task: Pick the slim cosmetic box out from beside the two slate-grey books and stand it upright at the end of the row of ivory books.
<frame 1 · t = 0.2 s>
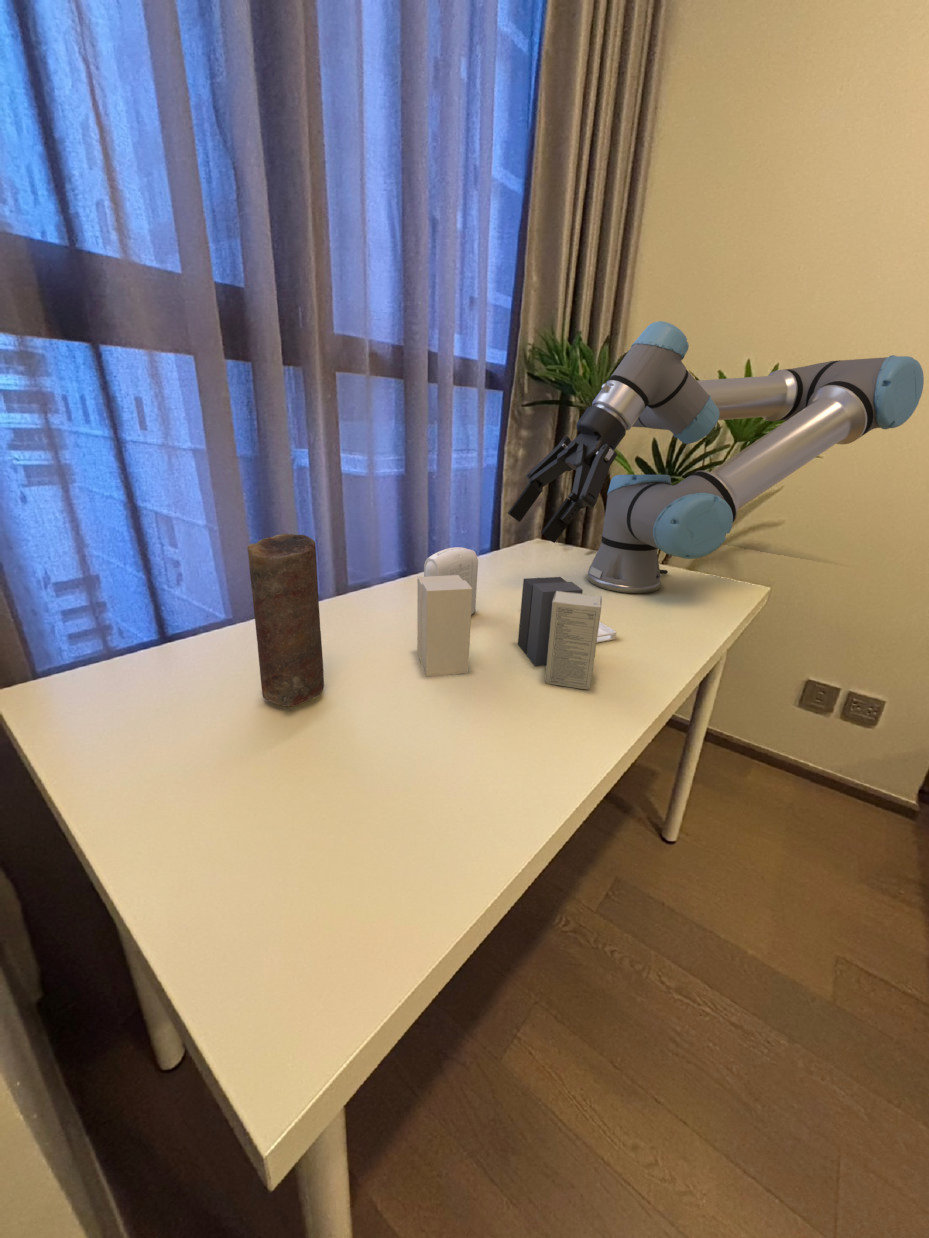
hand: (529, 527, 85), 16 cm above the table, tool tilted 35°, fingers open, 13 cm apart
ivory books: (441, 662, 73), on the table
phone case: (571, 626, 88), on the table
candle: (295, 698, 63), on the table
grey books: (544, 653, 77), on the table
cosmetic box: (567, 681, 70), on the table
photo printer: (449, 618, 89), on the table
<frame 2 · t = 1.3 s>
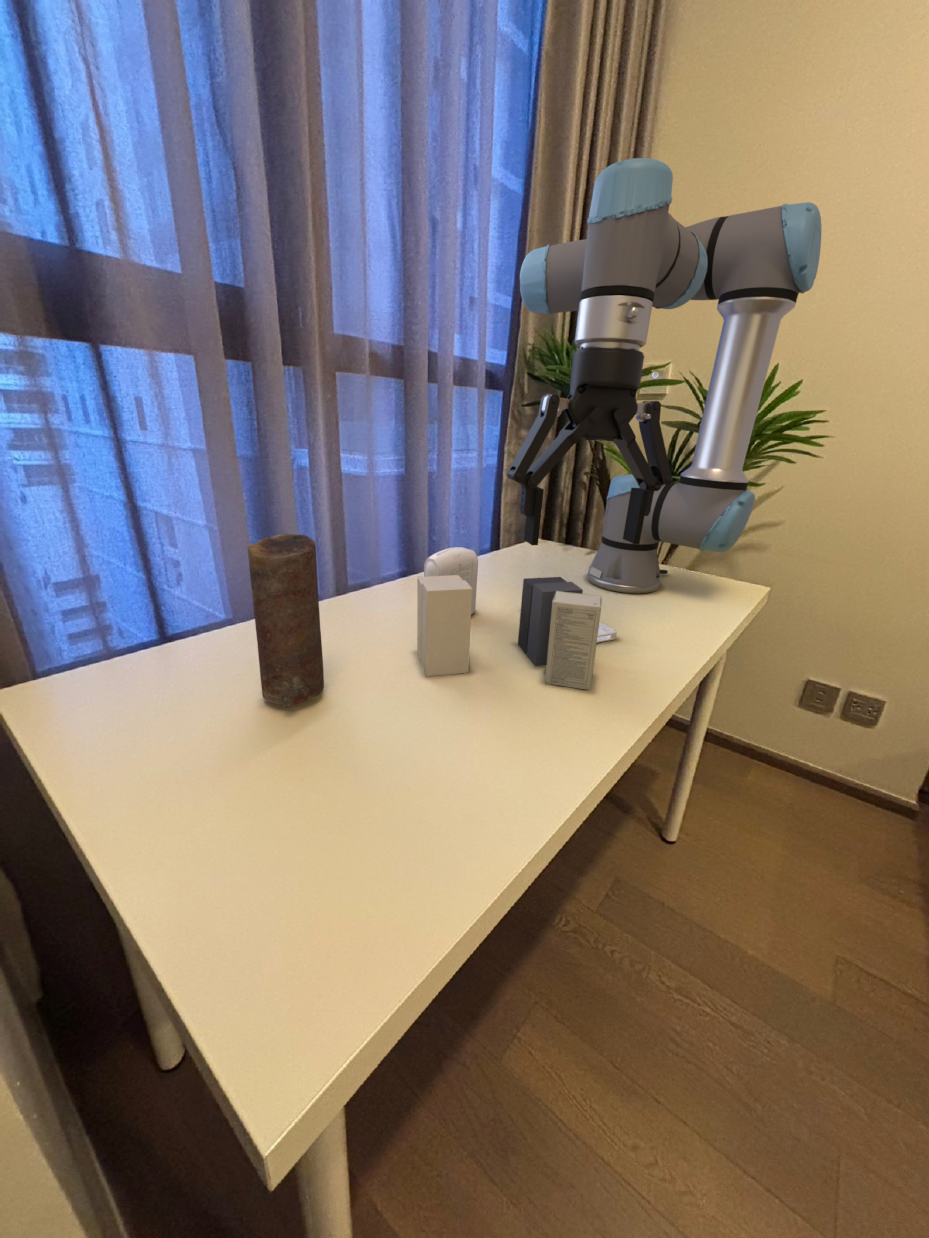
hand: (582, 542, 63), 19 cm above the table, tool pointing down, fingers open, 13 cm apart
nothing on the table moved.
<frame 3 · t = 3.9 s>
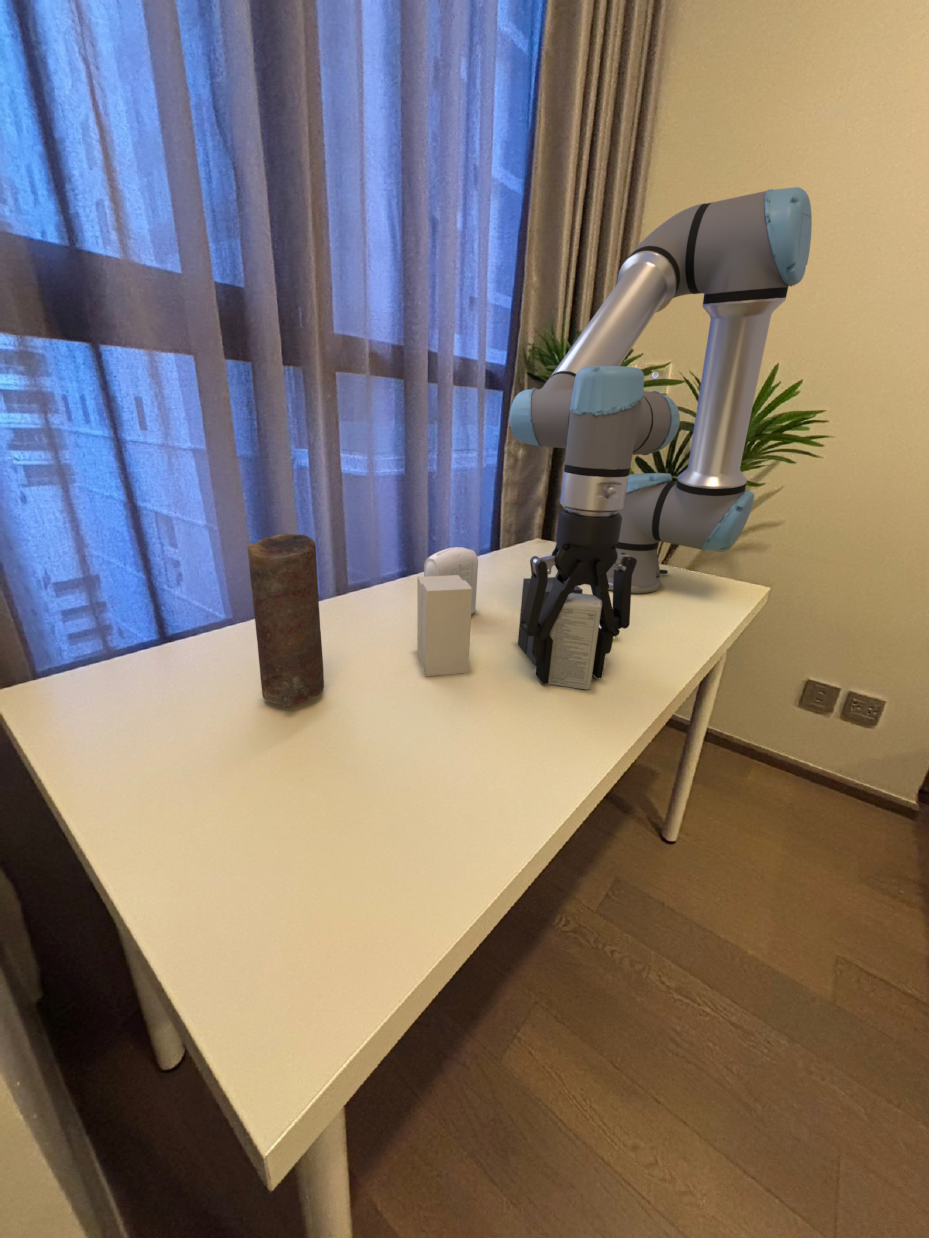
hand: (568, 676, 70), 1 cm above the table, tool pointing down, fingers closed on cosmetic box, 7 cm apart
cosmetic box: (567, 681, 70), on the table, touching gripper
everything else where it was.
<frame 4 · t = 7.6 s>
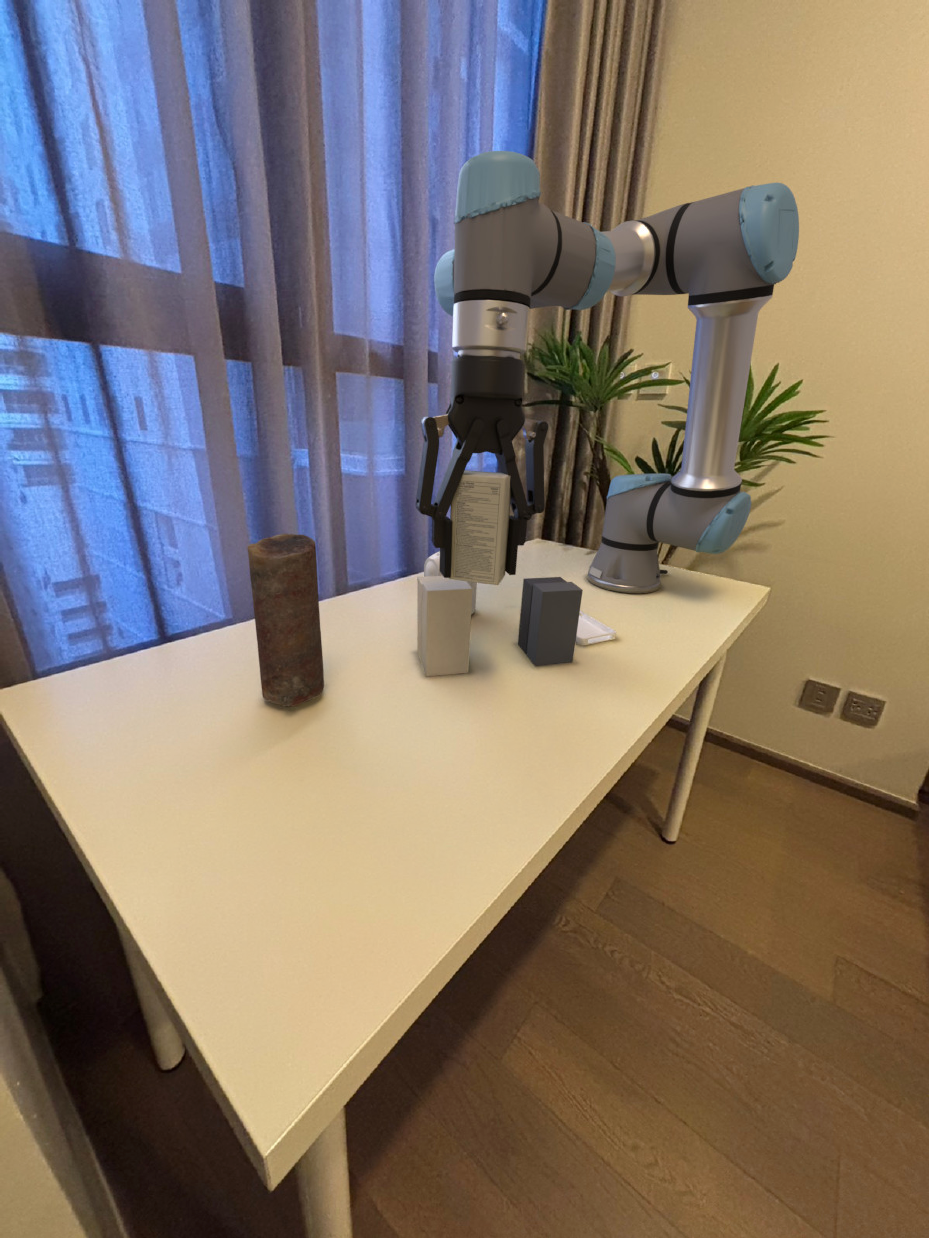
hand: (477, 572, 60), 16 cm above the table, tool pointing down, fingers closed on cosmetic box, 7 cm apart
cosmetic box: (476, 579, 60), point 15 cm above the table, touching gripper
everything else where it was.
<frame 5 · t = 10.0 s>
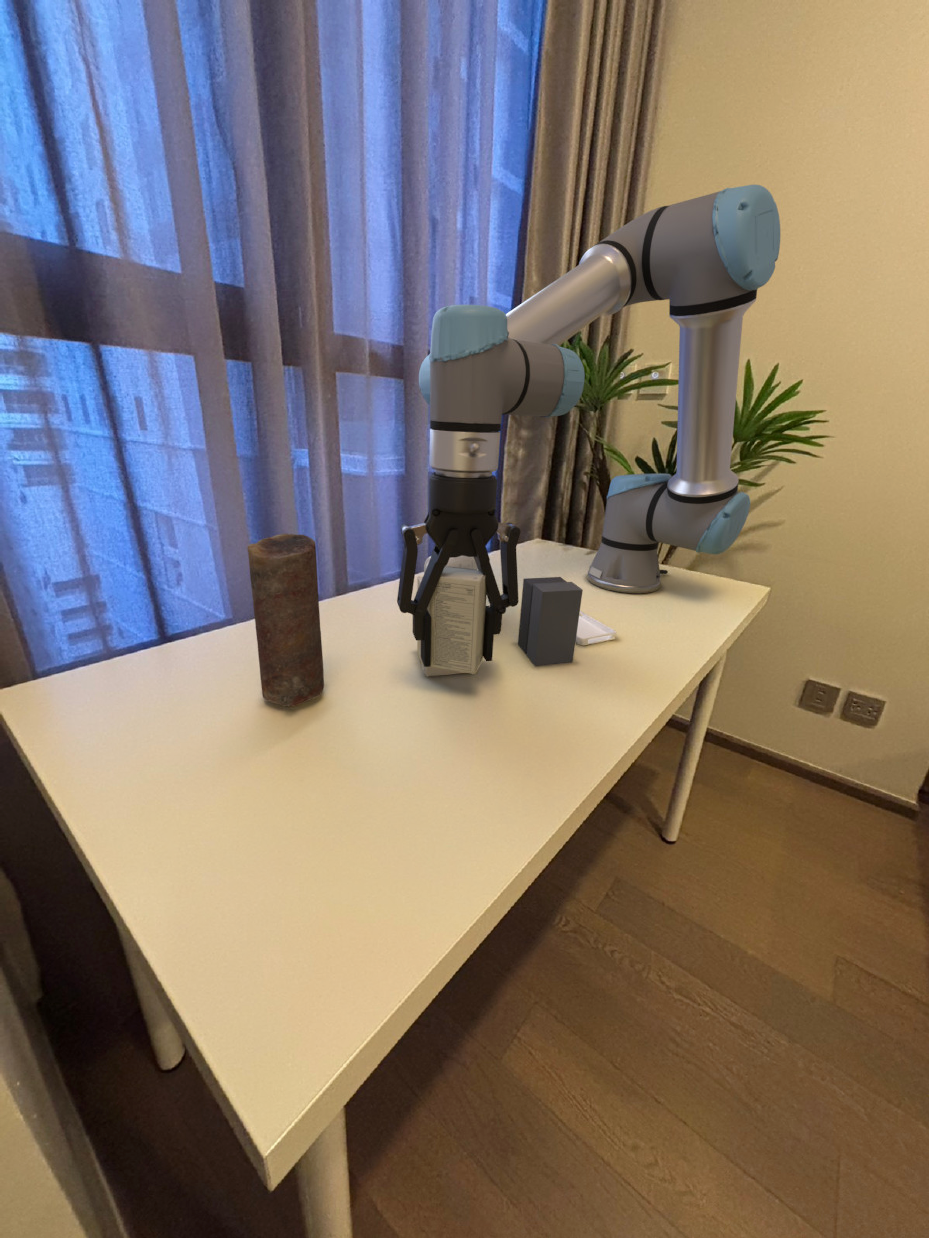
hand: (456, 658, 64), 5 cm above the table, tool pointing down, fingers closed on cosmetic box, 7 cm apart
cosmetic box: (454, 664, 64), point 4 cm above the table, touching gripper
everything else where it was.
when the fingers open (1 cm above the table, at t = 11.5 s): cosmetic box stays where it is, on the table.
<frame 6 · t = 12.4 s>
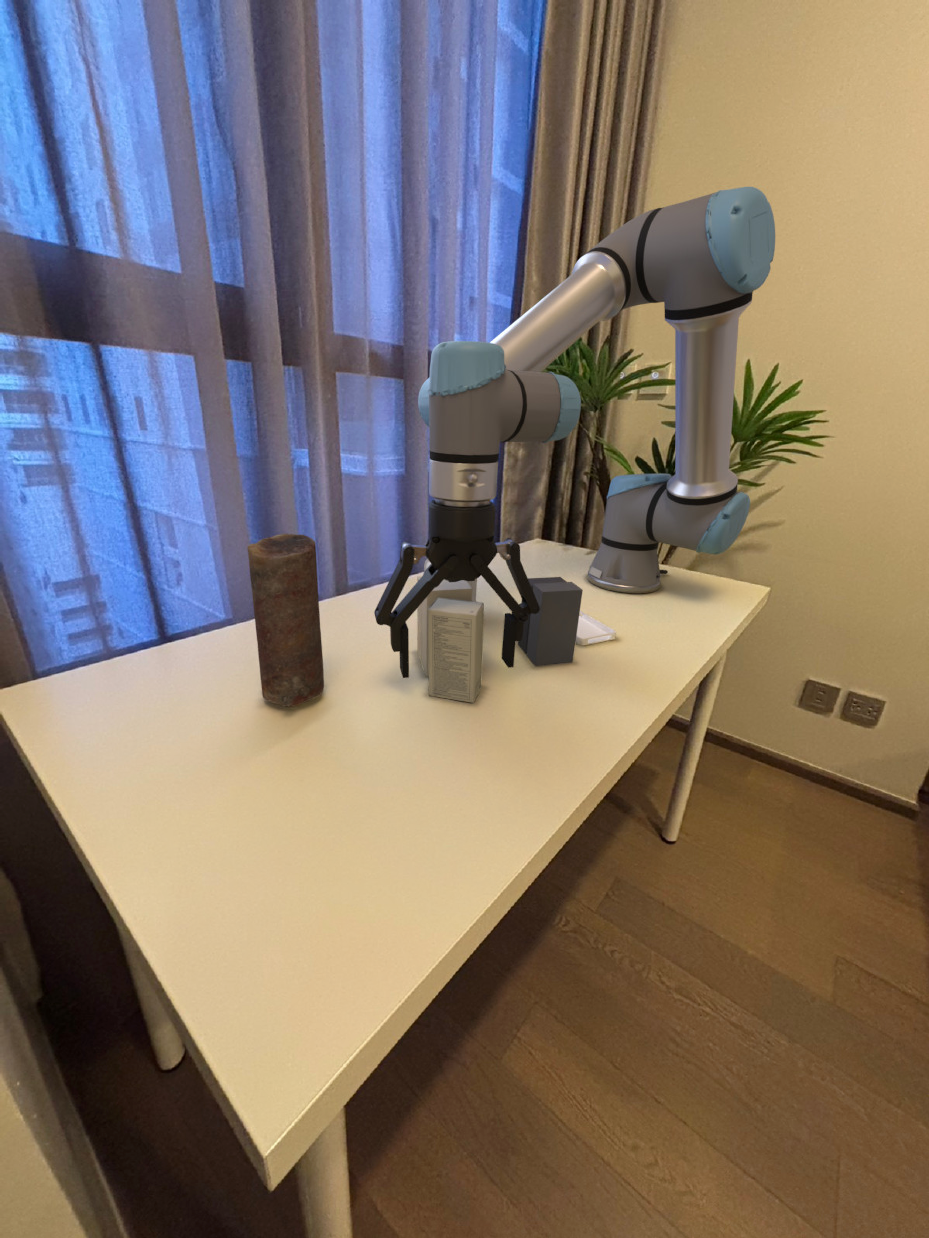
hand: (457, 667, 65), 3 cm above the table, tool pointing down, fingers open, 13 cm apart
cosmetic box: (454, 693, 66), on the table
everything else where it was.
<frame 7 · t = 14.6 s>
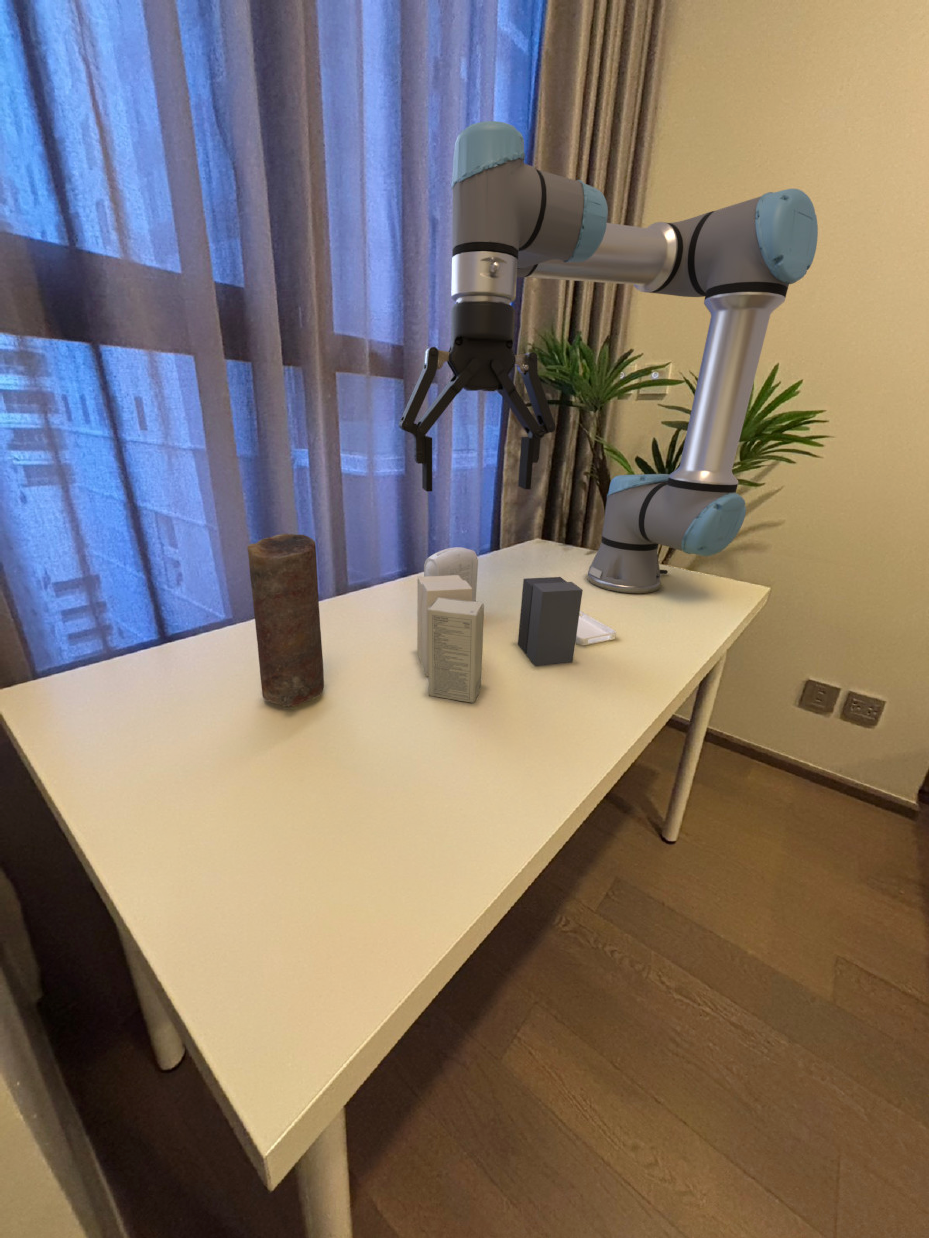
hand: (477, 489, 68), 24 cm above the table, tool pointing down, fingers open, 13 cm apart
nothing on the table moved.
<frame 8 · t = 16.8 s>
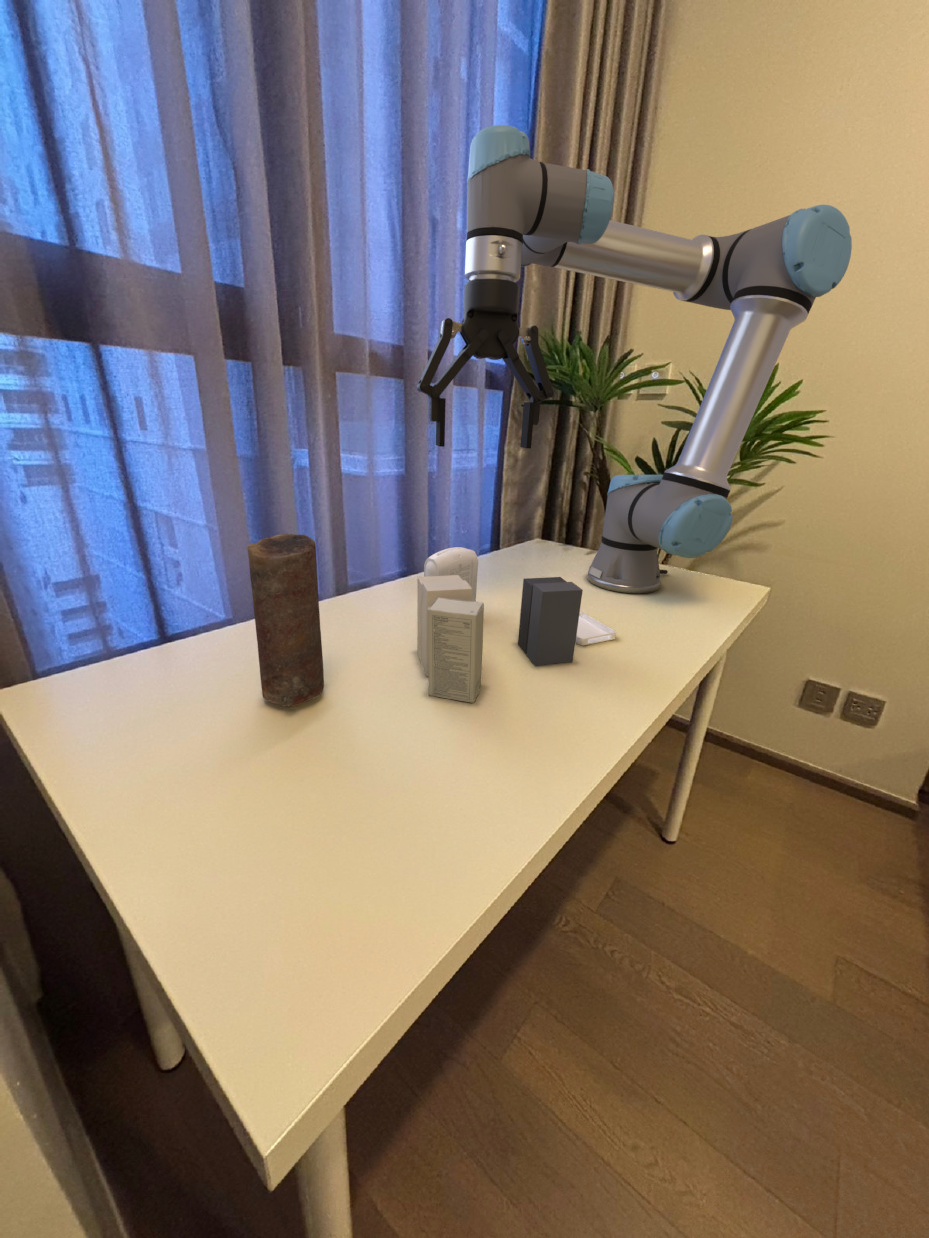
hand: (483, 447, 77), 29 cm above the table, tool pointing down, fingers open, 13 cm apart
nothing on the table moved.
at the end: cosmetic box inside the target area (0.3 cm from its centre), on the table; cosmetic box tilted 0°; the gripper is holding nothing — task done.
